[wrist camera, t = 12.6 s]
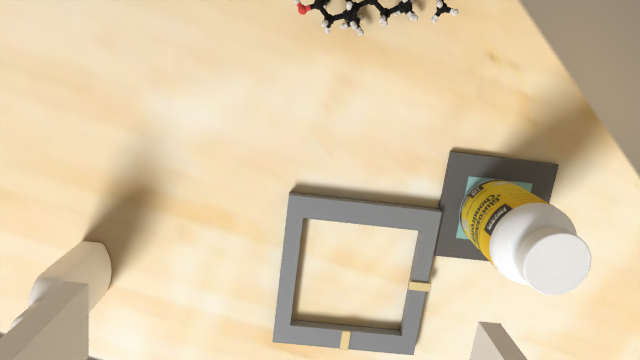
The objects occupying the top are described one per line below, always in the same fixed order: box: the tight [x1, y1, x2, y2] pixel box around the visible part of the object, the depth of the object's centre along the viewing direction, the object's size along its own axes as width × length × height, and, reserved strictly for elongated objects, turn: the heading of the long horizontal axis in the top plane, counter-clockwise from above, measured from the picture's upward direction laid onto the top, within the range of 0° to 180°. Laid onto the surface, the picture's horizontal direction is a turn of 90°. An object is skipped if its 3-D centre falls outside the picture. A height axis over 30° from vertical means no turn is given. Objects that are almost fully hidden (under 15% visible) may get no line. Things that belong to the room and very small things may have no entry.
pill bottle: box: [459, 179, 591, 295], centre depth 37 cm, size 6×6×12 cm
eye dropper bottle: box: [11, 242, 112, 329], centre depth 37 cm, size 4×6×12 cm
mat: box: [433, 151, 558, 261], centre depth 43 cm, size 10×10×1 cm
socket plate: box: [273, 192, 442, 355], centre depth 43 cm, size 15×14×1 cm
